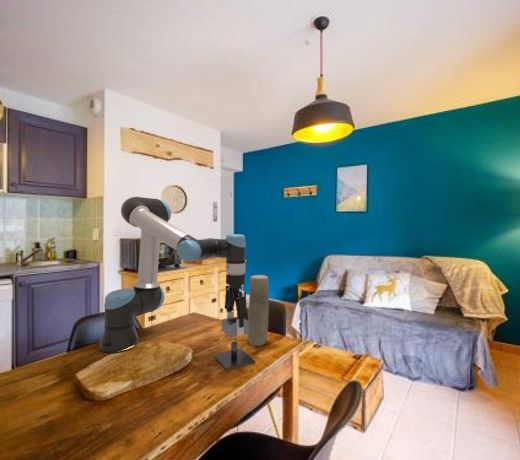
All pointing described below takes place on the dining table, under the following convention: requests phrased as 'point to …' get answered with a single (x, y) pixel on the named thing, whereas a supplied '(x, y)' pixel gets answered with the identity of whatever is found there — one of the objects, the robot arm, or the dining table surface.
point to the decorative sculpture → (258, 310)
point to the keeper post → (234, 357)
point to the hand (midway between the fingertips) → (235, 331)
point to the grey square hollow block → (233, 326)
